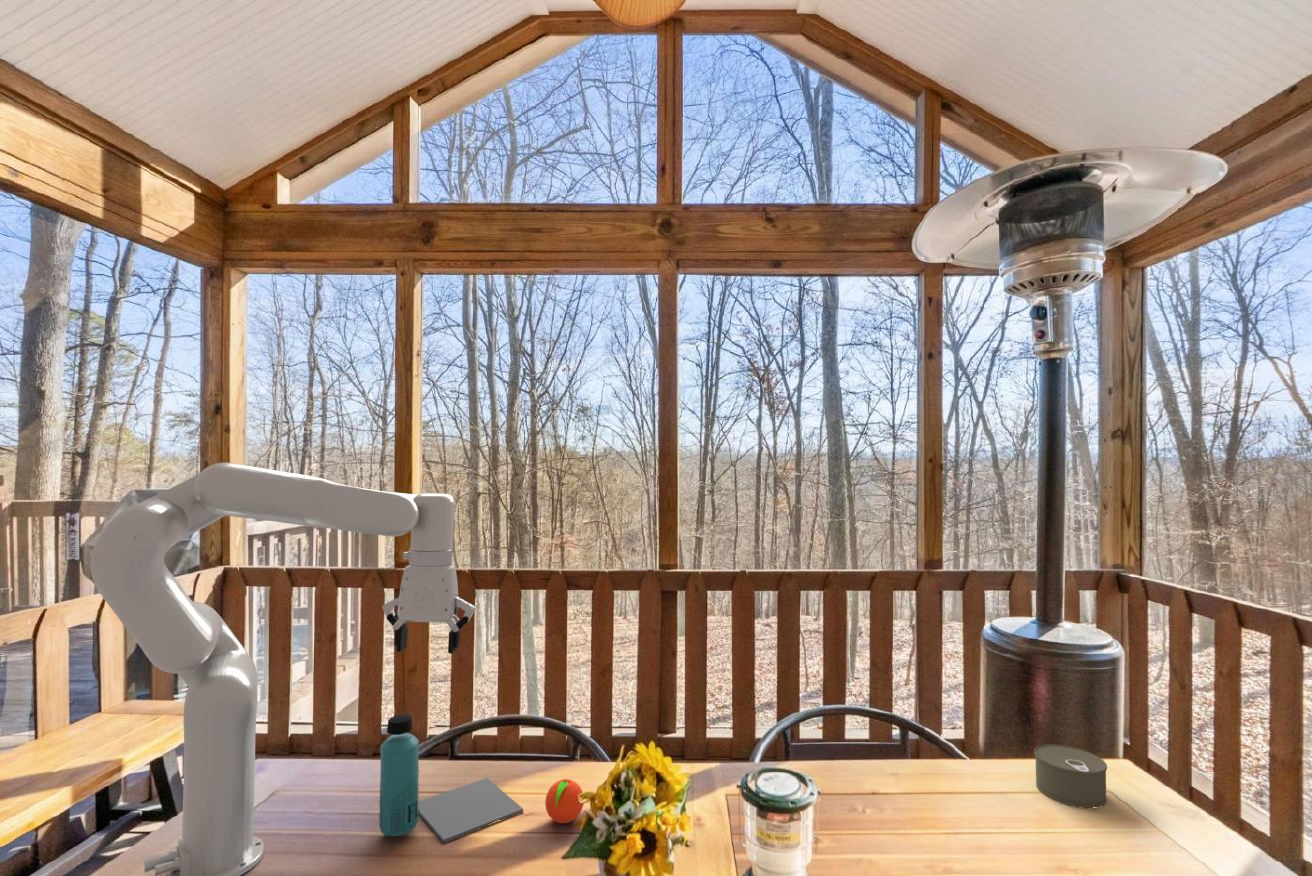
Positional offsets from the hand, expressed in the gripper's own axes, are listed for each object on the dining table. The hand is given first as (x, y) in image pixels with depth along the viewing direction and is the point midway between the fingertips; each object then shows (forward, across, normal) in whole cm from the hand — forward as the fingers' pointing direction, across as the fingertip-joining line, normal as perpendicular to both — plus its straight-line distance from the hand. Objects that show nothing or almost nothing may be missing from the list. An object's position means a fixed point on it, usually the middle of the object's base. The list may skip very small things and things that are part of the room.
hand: (427, 650), depth 121 cm
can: (+26, +125, +9) cm, 128 cm away
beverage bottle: (+30, -1, -8) cm, 31 cm away
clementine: (+29, +27, -3) cm, 40 cm away
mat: (+29, +9, 0) cm, 30 cm away
